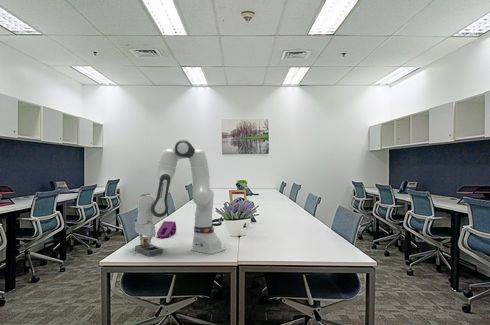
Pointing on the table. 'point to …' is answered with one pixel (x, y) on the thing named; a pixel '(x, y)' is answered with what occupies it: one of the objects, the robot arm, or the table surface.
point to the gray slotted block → (149, 250)
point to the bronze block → (144, 242)
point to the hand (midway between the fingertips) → (145, 241)
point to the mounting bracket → (166, 229)
